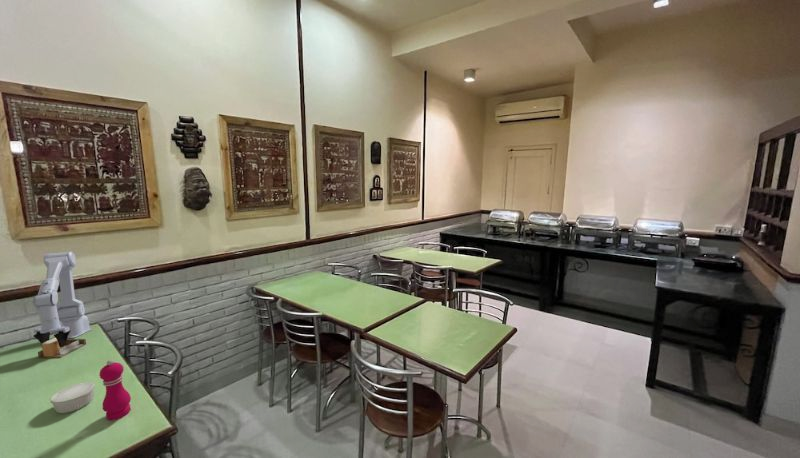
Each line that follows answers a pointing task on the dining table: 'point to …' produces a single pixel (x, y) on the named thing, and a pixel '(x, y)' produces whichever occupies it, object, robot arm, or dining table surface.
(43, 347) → the tan block
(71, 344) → the shelf
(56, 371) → the dining table surface
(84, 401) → the ramekin
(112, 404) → the pepper mill
